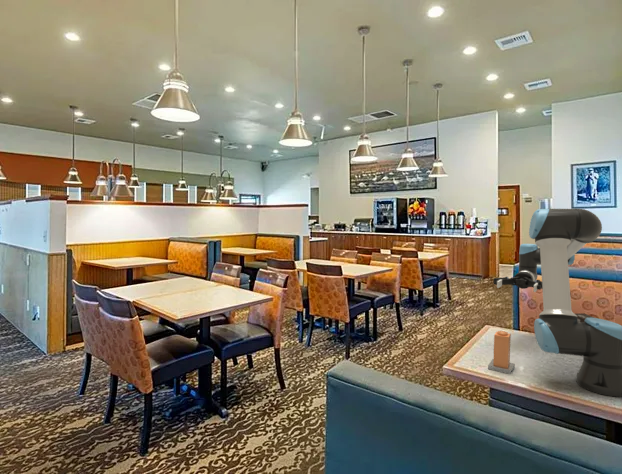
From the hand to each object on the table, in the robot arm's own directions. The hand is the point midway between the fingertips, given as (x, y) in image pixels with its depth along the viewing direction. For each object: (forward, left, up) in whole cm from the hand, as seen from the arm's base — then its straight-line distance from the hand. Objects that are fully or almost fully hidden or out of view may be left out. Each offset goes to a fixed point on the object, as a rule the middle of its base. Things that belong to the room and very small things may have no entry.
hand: (515, 286), depth 157 cm
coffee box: (+5, -33, -30) cm, 45 cm away
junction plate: (-11, +11, -30) cm, 34 cm away
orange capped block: (-11, +11, -29) cm, 32 cm away
